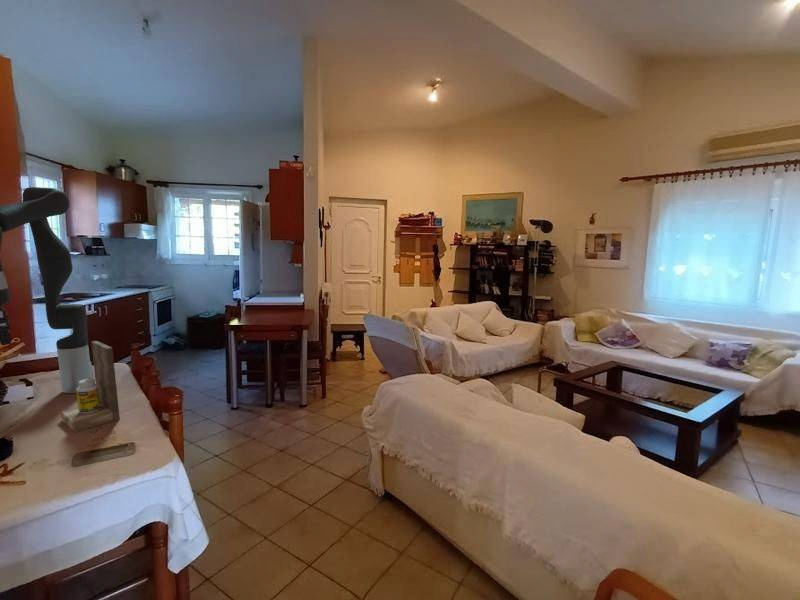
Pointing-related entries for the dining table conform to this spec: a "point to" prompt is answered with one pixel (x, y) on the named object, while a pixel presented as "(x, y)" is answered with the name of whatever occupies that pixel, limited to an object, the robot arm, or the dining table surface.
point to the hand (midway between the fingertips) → (3, 341)
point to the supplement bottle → (88, 396)
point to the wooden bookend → (106, 392)
